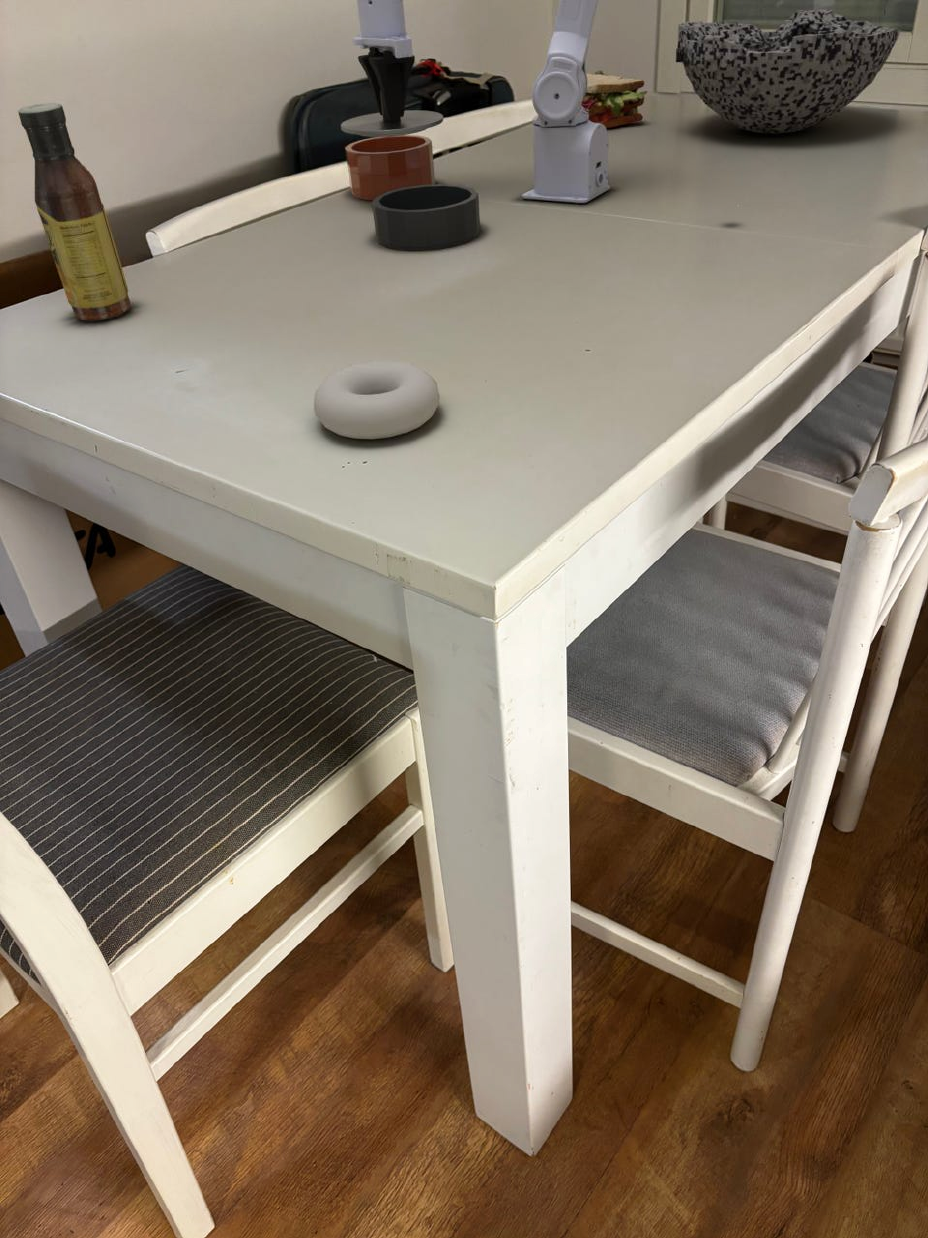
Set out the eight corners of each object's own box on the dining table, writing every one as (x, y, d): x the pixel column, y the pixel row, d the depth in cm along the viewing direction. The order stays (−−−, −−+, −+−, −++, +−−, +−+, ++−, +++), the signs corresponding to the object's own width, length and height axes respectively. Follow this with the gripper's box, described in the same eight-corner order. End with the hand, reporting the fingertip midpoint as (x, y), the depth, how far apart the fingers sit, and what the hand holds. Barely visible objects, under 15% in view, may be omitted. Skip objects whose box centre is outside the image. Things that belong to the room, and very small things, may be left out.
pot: (450, 182, 138) (447, 136, 135) (403, 203, 130) (398, 155, 127) (383, 177, 144) (378, 133, 140) (334, 197, 136) (328, 151, 132)
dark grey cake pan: (498, 225, 118) (496, 187, 116) (443, 254, 110) (440, 214, 107) (414, 217, 124) (411, 181, 121) (357, 244, 116) (351, 206, 113)
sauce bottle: (85, 304, 104) (22, 101, 92) (141, 301, 104) (84, 96, 92) (63, 326, 99) (-6, 113, 87) (122, 323, 99) (60, 109, 87)
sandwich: (531, 127, 165) (530, 74, 160) (579, 114, 171) (579, 63, 167) (604, 136, 155) (605, 80, 150) (651, 122, 161) (654, 68, 157)
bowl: (779, 162, 134) (794, 38, 125) (634, 134, 156) (637, 27, 147) (925, 125, 146) (949, 10, 137) (771, 104, 168) (783, 3, 159)
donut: (351, 389, 81) (294, 439, 74) (345, 350, 79) (286, 397, 72) (459, 400, 78) (411, 453, 71) (457, 359, 76) (406, 409, 69)
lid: (462, 120, 128) (460, 81, 125) (406, 142, 119) (402, 99, 116) (380, 117, 134) (376, 79, 131) (321, 137, 125) (315, 97, 123)
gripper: (331, -6, 122) (346, 112, 130) (367, -1, 111) (381, 127, 119) (382, -12, 124) (394, 105, 132) (423, -8, 113) (433, 119, 121)
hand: (391, 115), depth 126 cm, fingers closed on lid, 2 cm apart
